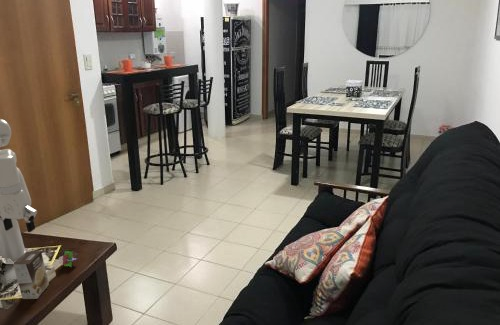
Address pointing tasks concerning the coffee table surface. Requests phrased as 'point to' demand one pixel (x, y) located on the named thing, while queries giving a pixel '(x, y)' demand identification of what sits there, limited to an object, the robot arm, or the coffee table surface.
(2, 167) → the robot arm
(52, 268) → the letter block
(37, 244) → the coffee table surface
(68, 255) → the geometric puzzle
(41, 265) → the coffee box
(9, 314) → the coffee table surface
